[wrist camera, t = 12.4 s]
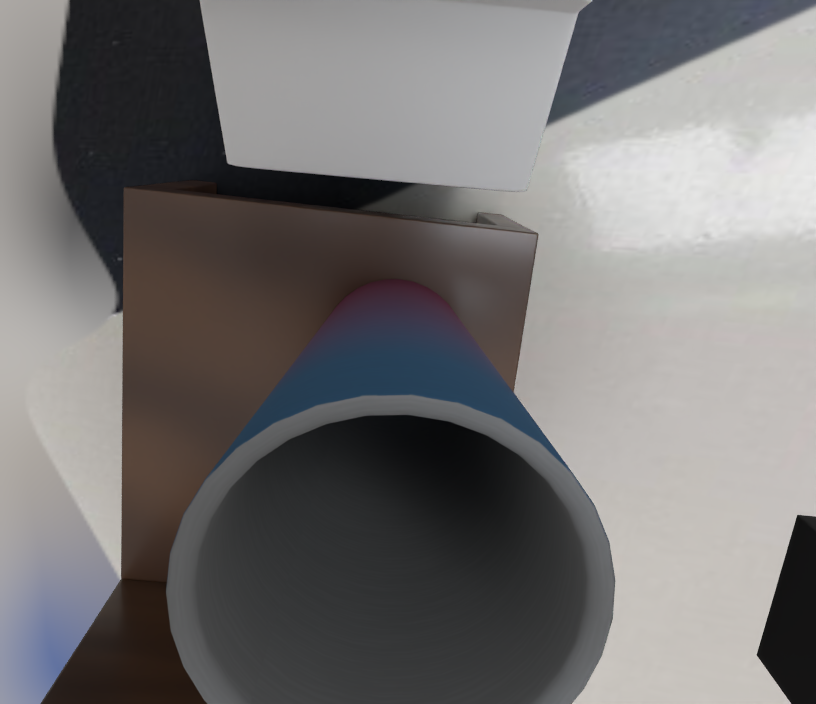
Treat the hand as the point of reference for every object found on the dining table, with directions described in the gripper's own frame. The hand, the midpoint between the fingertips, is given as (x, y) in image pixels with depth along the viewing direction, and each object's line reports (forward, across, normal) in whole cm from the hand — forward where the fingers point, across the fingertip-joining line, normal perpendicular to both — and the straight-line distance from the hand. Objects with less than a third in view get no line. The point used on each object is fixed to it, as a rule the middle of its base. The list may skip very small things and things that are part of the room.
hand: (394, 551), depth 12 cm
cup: (+14, 0, 0) cm, 14 cm away
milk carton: (+22, -1, +9) cm, 24 cm away
